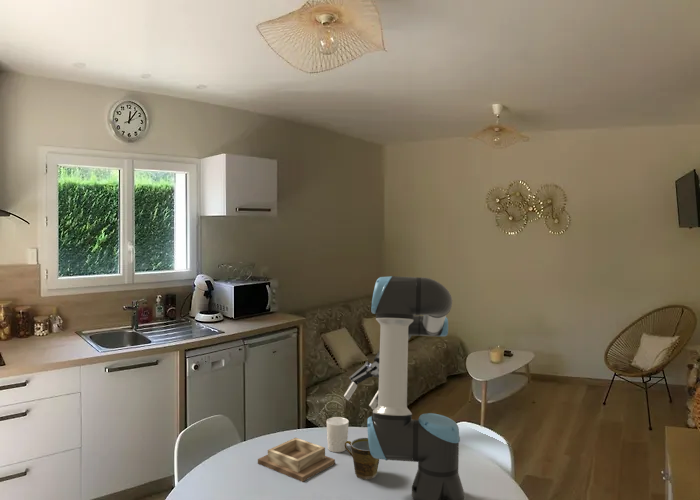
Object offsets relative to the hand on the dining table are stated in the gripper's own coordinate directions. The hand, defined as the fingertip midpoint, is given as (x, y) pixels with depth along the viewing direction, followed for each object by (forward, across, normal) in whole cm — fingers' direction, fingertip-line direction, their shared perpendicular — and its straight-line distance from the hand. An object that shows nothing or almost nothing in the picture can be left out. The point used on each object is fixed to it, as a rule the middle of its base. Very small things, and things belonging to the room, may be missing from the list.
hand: (358, 402), depth 191 cm
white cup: (+18, 0, -3) cm, 18 cm away
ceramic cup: (+22, -20, +2) cm, 30 cm away
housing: (+30, 0, +10) cm, 32 cm away
